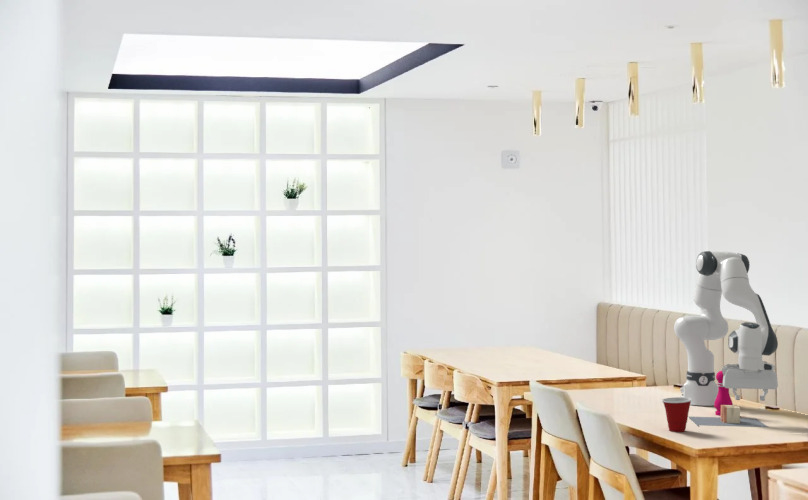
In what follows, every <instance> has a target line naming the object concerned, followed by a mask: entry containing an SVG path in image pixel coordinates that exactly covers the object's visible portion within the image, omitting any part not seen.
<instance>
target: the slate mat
mask: <svg viewBox="0 0 808 500" xmlns="http://www.w3.org/2000/svg"><path fill="white" fill-rule="evenodd" d="M688 419H689V420H691V422H693V424H695V425H696V426H697V427H700V426H707V427H708V426H709V427H710V426H711V427H713V426H714V427H715V426H716V427H742V428H743V427H747V428H748V427H749V428H769V426H768V425H767V424H765V423H763V422H762V421H760V420H758V418H754V417H753V418H752V417H749V418H748V417H747V418H746V417H740V423H724V422H722V421H721V416H718V417H717V416H688Z"/></svg>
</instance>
